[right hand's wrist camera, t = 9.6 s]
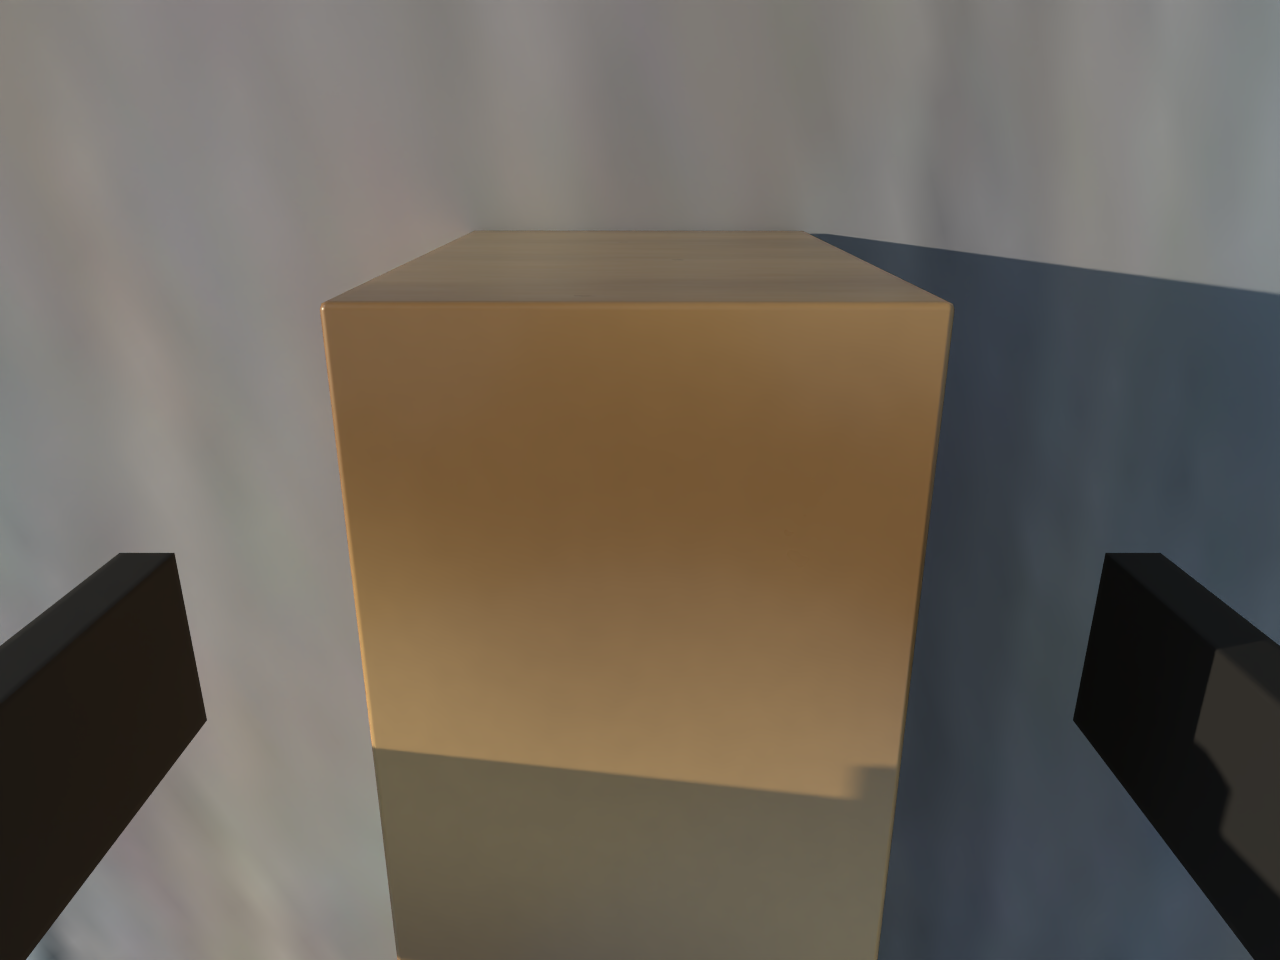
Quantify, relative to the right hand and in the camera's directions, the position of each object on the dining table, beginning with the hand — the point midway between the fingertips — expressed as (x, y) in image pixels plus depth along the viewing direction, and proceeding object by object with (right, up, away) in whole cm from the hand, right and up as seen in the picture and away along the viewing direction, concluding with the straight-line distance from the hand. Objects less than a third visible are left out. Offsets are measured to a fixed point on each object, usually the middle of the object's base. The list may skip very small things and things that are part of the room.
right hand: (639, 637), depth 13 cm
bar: (0, -31, +15) cm, 35 cm away
